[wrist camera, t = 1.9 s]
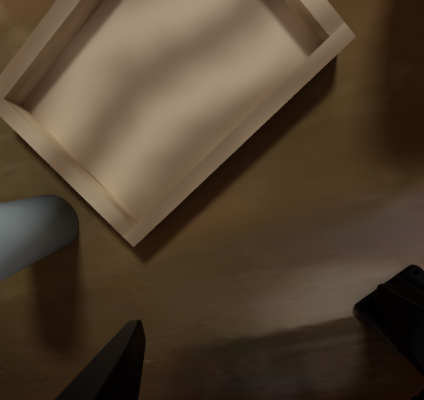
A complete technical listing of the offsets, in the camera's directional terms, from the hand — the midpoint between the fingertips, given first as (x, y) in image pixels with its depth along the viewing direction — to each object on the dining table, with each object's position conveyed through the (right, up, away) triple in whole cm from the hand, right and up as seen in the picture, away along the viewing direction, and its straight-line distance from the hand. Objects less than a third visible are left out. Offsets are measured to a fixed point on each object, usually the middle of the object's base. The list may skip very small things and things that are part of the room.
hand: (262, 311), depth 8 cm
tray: (-6, +14, +10) cm, 18 cm away
